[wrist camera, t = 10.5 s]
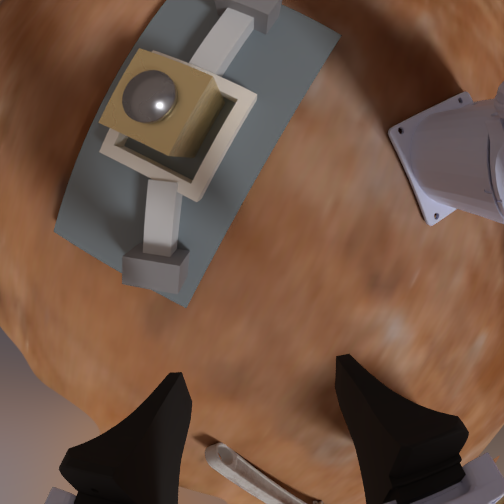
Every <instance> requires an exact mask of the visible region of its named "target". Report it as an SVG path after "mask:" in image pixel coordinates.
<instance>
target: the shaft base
mask: <svg viewBox="0 0 504 504" xmlns="http://www.w3.org/2000/svg"><path fill="white" fill-rule="evenodd" d="M341 36H342V35H340V34H338V33H337V32H335V31H333V30H332V29H330V28H328V27H326V26H324V25H322V24H321V23H319V22H317V21H315V20H313V19H311V18H309V17H307V16H305V15H303V14H301V13H299V12H297V11H295V10H293V9H291V8H288V7H286V6H284V5H282V0H166V2H165V3H164V4H163V5H162V7H161V8H160V9H159V11H158V12H157V13H156V15H155V16H154V17H153V19H152V20H151V22H150V23H149V24H148V26H147V27H146V29H145V30H144V32H143V33H142V35H141V36H140V38H139V39H138V41H137V42H136V44H135V45H134V47H133V48H132V50H131V52H130V53H129V55H128V56H127V58H126V60H125V61H124V63H123V65H122V66H121V68H120V70H119V72H118V73H117V75H116V77H115V79H114V81H113V82H112V84H111V86H110V88H109V90H108V92H107V94H106V96H105V97H104V99H103V101H102V103H101V105H100V107H99V110H98V112H97V114H96V116H95V118H94V120H93V122H92V124H91V127H90V129H89V131H88V133H87V136H86V138H85V140H84V143H83V145H82V148H81V150H80V153H79V155H78V158H77V160H76V163H75V165H74V168H73V171H72V174H71V176H70V179H69V182H68V185H67V188H66V191H65V194H64V197H63V200H62V204H61V207H60V210H59V214H58V217H57V221H56V224H55V228H54V232H55V233H57V234H58V235H60V236H61V237H63V238H65V239H66V240H68V241H69V242H71V243H72V244H74V245H76V246H77V247H79V248H80V249H82V250H84V251H85V252H87V253H89V254H90V255H92V256H93V257H95V258H97V259H98V260H100V261H102V262H104V263H105V264H107V265H109V266H110V267H112V268H114V269H115V270H117V271H119V272H121V273H122V284H125V285H130V286H135V287H140V288H145V289H151V290H153V291H155V292H157V293H158V294H160V295H162V296H164V297H166V298H168V299H170V300H172V301H174V302H176V303H177V304H179V305H181V306H183V307H185V308H187V306H188V304H189V302H190V300H191V298H192V296H193V294H194V292H195V290H196V288H197V286H198V284H199V283H200V281H201V279H202V277H203V275H204V273H205V271H206V269H207V267H208V265H209V264H210V262H211V260H212V258H213V256H214V254H215V252H216V250H217V249H218V247H219V245H220V243H221V241H222V239H223V237H224V236H225V234H226V232H227V230H228V228H229V226H230V225H231V223H232V221H233V219H234V217H235V215H236V214H237V212H238V210H239V208H240V206H241V205H242V203H243V201H244V199H245V197H246V196H247V194H248V192H249V190H250V188H251V187H252V185H253V183H254V181H255V180H256V178H257V176H258V174H259V172H260V171H261V169H262V167H263V165H264V164H265V162H266V160H267V158H268V157H269V155H270V153H271V151H272V150H273V148H274V146H275V145H276V143H277V141H278V139H279V138H280V136H281V134H282V133H283V131H284V129H285V127H286V126H287V124H288V122H289V121H290V119H291V117H292V116H293V114H294V112H295V110H296V109H297V107H298V105H299V104H300V102H301V100H302V99H303V97H304V95H305V94H306V92H307V90H308V89H309V87H310V86H311V84H312V82H313V81H314V79H315V77H316V76H317V74H318V72H319V71H320V69H321V68H322V66H323V64H324V63H325V61H326V59H327V58H328V56H329V55H330V53H331V51H332V50H333V48H334V47H335V45H336V44H337V42H338V40H339V39H340V37H341ZM139 48H140V49H144V50H147V51H149V52H152V53H155V54H158V55H161V56H164V57H166V58H169V59H172V60H174V61H177V62H180V63H182V64H185V65H187V66H190V67H192V68H195V69H197V70H200V71H202V72H204V73H207V74H209V75H211V76H213V77H214V79H215V82H216V84H217V86H218V88H219V90H220V93H221V95H222V97H223V99H224V102H225V104H224V106H223V107H222V109H221V111H220V112H219V114H218V116H217V118H216V119H215V121H214V123H213V125H212V126H211V128H210V130H209V132H208V133H207V135H206V137H205V139H204V141H203V143H202V144H201V146H200V148H199V150H198V152H197V154H196V156H195V157H194V158H188V157H175V156H167V155H165V154H163V153H161V152H159V151H157V150H155V149H153V148H151V147H149V146H147V145H145V144H143V143H141V142H139V141H136V140H134V139H132V138H130V137H128V136H126V135H124V134H122V133H120V132H117V131H115V130H113V129H111V128H109V127H107V126H104V125H102V124H100V123H98V122H99V120H100V118H101V116H102V114H103V112H104V110H105V108H106V106H107V104H108V102H109V100H110V98H111V96H112V94H113V92H114V90H115V89H116V87H117V85H118V83H119V81H120V79H121V78H122V76H123V74H124V72H125V71H126V69H127V67H128V66H129V64H130V62H131V61H132V59H133V57H134V56H135V54H136V52H137V51H138V49H139Z"/></svg>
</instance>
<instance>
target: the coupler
mask: <svg viewBox="0 0 504 504" xmlns="http://www.w3.org/2000/svg"><path fill="white" fill-rule="evenodd" d="M224 104H225V102H224V99H223V97H222V95H221V93H220V90H219V88H218V86H217V84H216V82H215V79H214V77H213V76H211V75H209V74H207V73H204V72H202V71H200V70H197V69H195V68H192V67H190V66H187V65H185V64H182V63H180V62H177V61H174V60H172V59H169V58H166V57H164V56H161V55H158V54H155V53H152V52H149V51H147V50H144V49H140V48H139V49H138V51H137V52H136V54H135V56H134V57H133V59H132V61H131V62H130V64H129V66H128V67H127V69H126V71H125V72H124V74H123V76H122V78H121V79H120V81H119V83H118V85H117V87H116V89H115V90H114V92H113V94H112V96H111V98H110V100H109V102H108V104H107V106H106V108H105V110H104V112H103V114H102V116H101V118H100V120H99V122H98V123H100V124H102V125H104V126H107V127H109V128H111V129H113V130H115V131H117V132H120V133H122V134H124V135H126V136H128V137H130V138H132V139H134V140H136V141H139V142H141V143H143V144H145V145H147V146H149V147H151V148H153V149H155V150H157V151H159V152H161V153H163V154H165V155H167V156H175V157H188V158H194V157H195V156H196V154H197V152H198V150H199V148H200V146H201V144H202V143H203V141H204V139H205V137H206V135H207V133H208V132H209V130H210V128H211V126H212V125H213V123H214V121H215V119H216V118H217V116H218V114H219V112H220V111H221V109H222V107H223V106H224Z"/></svg>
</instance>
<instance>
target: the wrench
mask: <svg viewBox="0 0 504 504" xmlns="http://www.w3.org/2000/svg"><path fill="white" fill-rule="evenodd" d="M218 453H219V455H220V456H221V459H222V461H221V459H220V457H219V455H218ZM205 458H206V460H207V462H208V464H209V465H210V466H211V467H212V468H213V469H215V470H216V471H218V472H219V473H220V474H222V475H223V476H225V477H226V478H227V479H229V480H230V481H232V482H233V483H235V484H236V485H238V486H239V487H241V488H242V489H244V490H245V491H247V492H249V493H250V494H252V495H253V496H255V497H257V498H258V499H260V500H262V501H263V502H265V503H267V504H307V503H305V502H303V501H302V500H300V499H298V498H297V497H295V496H294V495H292V494H291V493H289V492H288V491H286V490H285V489H283V488H282V487H281V486H279V485H278V484H276V483H275V482H274V481H272V480H271V479H269V478H268V477H267V476H265V475H264V474H262V473H261V472H260V471H258V470H257V469H256V468H254V467H253V466H252V465H251V464H249V463H248V462H247V461H246V460H244V459H243V458H242V457H241V456H239V455H238V454H237V453H236V452H234V451H233V450H232V449H230V448H229V447H228V446H226V445H225V444H223V443H221V442H220V443H217V444H214V445H211V446H209V447H207V448H206V450H205ZM313 504H323V501H319V502H317V501H313Z"/></svg>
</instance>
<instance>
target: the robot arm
mask: <svg viewBox="0 0 504 504" xmlns="http://www.w3.org/2000/svg"><path fill="white" fill-rule="evenodd" d="M458 99H459V100H460V103H459V101H458ZM398 128H400V129H401V130H402V133H401V134H400V133H399V132H398ZM388 135H389V138H390V140H391V142H392V144H393V146H394V148H395V150H396V152H397V154H398V156H399V159H400V161H401V163H402V165H403V167H404V170H405V172H406V174H407V176H408V179H409V181H410V184H411V186H412V188H413V191H414V193H415V196H416V198H417V201H418V204H419V206H420V209H421V211H422V214H423V217H424V220H425V222H426V224H428V225H431V226H432V225H434V224H436V223H437V222H439V221H440V220H441V219H443V218H444V217H446V216H447V215H449V214H450V213H452V212H453V211H454V210H456V209H460V210H463V211H466V212H469V213H472V214H476V215H479V216H482V217H485V218H488V219H490V220H493V221H496V222H499V223H502V224H504V81H503V82H502V83H501V84H500V86H499V87H498V91H497V95H496V96H495V99H489V100H482V101H476V102H473V101H472V98H471V96H470V94H469V93H468V92H462V93H460V94H458V95H455V96H453V97H451V98H449V99H447V100H445V101H443V102H441V103H439V104H437V105H435V106H433V107H431V108H428V109H426V110H424V111H422V112H420V113H418V114H416V115H414V116H412V117H410V118H408V119H406V120H404V121H403V122H401V123H399V124H397V125H395V126H393V127H391V128H390V129H389V130H388ZM435 213H436V218H434V214H435ZM335 389H336V394H337V398H338V402H339V406H340V408H341V411H342V413H343V416H344V419H345V421H346V424H347V426H348V429H349V431H350V434H351V437H352V439H353V442H354V445H355V449H356V453H357V457H358V461H359V465H360V470H361V475H362V480H363V485H364V491H365V497H366V504H495V503H496V502H498V501H499V500H500V499H501V498H502V497H503V496H504V478H503V476H502V474H501V473H500V471H499V469H498V468H497V466H496V464H495V463H494V461H493V459H492V458H491V456H490V455H489V453H488V452H487V453H484V454H483V455H481V456H479V457H477V458H476V459H474V460H472V461H470V462H468V463H467V464H466V465H464V466H463V467H462V466H461V464H460V462H461V460H462V459H461V457H460V455H459V452H460V451H461V449H462V447H463V446H464V444H465V442H466V440H467V438H468V435H469V432H468V430H467V429H466V427H465V425H464V424H463V422H462V421H461V420H460V418H459V417H458V416H454V415H449V414H445V413H441V412H437V411H434V410H431V409H428V408H426V407H423V406H420V405H418V404H416V403H414V402H412V401H410V400H408V399H406V398H404V397H402V396H400V395H399V394H397V393H395V392H394V391H392V390H391V389H389V388H388V387H386V386H385V385H384V384H382V383H381V382H380V381H379V380H377V379H376V378H375V377H374V376H373V375H371V374H370V373H369V372H368V371H367V370H366V369H365V368H363V367H362V366H361V365H360V364H359V363H358V362H357V361H356V360H355V359H354V358H353V357H352V356H351V355H350V354H346V355H341V356H336V379H335ZM191 411H192V400H191V397H190V394H189V392H188V389H187V386H186V383H185V380H184V377H183V374H182V372H177V373H169V374H168V375H167V376H166V378H165V379H164V380H163V381H162V382H161V383H160V384H159V386H158V387H157V388H156V389H155V390H154V391H153V392H152V393H151V395H150V396H149V397H148V398H147V399H146V400H145V401H144V402H143V403H142V404H141V405H140V406H139V407H138V408H137V409H136V410H135V411H134V412H133V413H131V414H130V415H129V416H128V417H127V418H125V419H124V420H123V421H121V422H120V423H119V424H117V425H116V426H114V427H113V428H111V429H110V430H108V431H107V432H105V433H103V434H102V435H100V436H98V437H96V438H94V439H92V440H90V441H88V442H85V443H83V444H80V445H78V446H75V447H72V448H69V449H68V451H67V453H66V455H65V457H64V459H63V461H62V463H61V465H60V467H59V470H60V472H61V474H62V476H63V477H64V478H65V479H66V480H67V481H68V482H69V483H70V484H71V485H72V486H73V487H74V488H75V489H76V490H77V491H78V494H77V496H75V495H73V494H72V493H69V492H66V491H64V490H61V489H58V488H56V487H52V489H51V491H50V493H49V495H48V497H47V500H46V502H45V504H178V486H179V474H180V464H181V458H182V453H183V449H184V445H185V441H186V437H187V433H188V429H189V424H190V420H191Z"/></svg>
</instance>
